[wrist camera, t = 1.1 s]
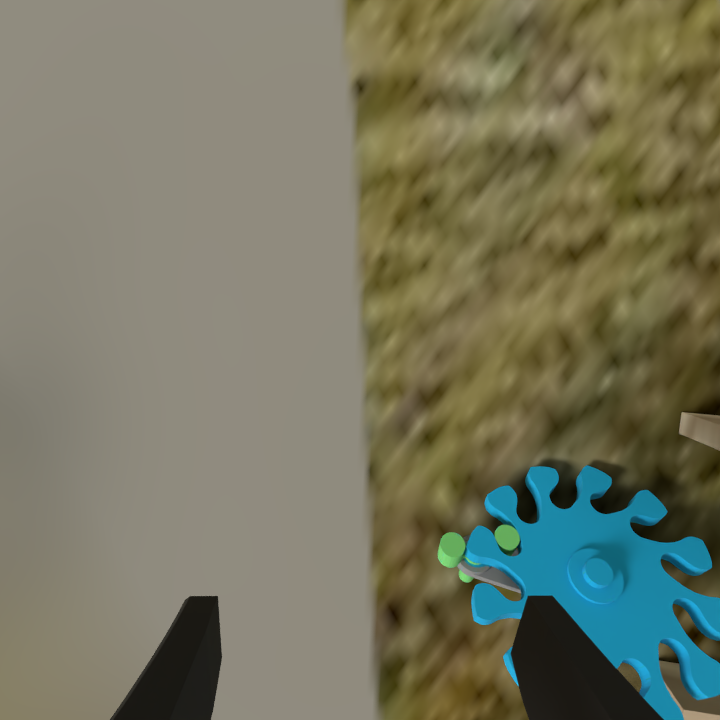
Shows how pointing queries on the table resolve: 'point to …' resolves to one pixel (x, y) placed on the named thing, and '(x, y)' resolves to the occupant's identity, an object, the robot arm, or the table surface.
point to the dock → (706, 716)
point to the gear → (594, 579)
